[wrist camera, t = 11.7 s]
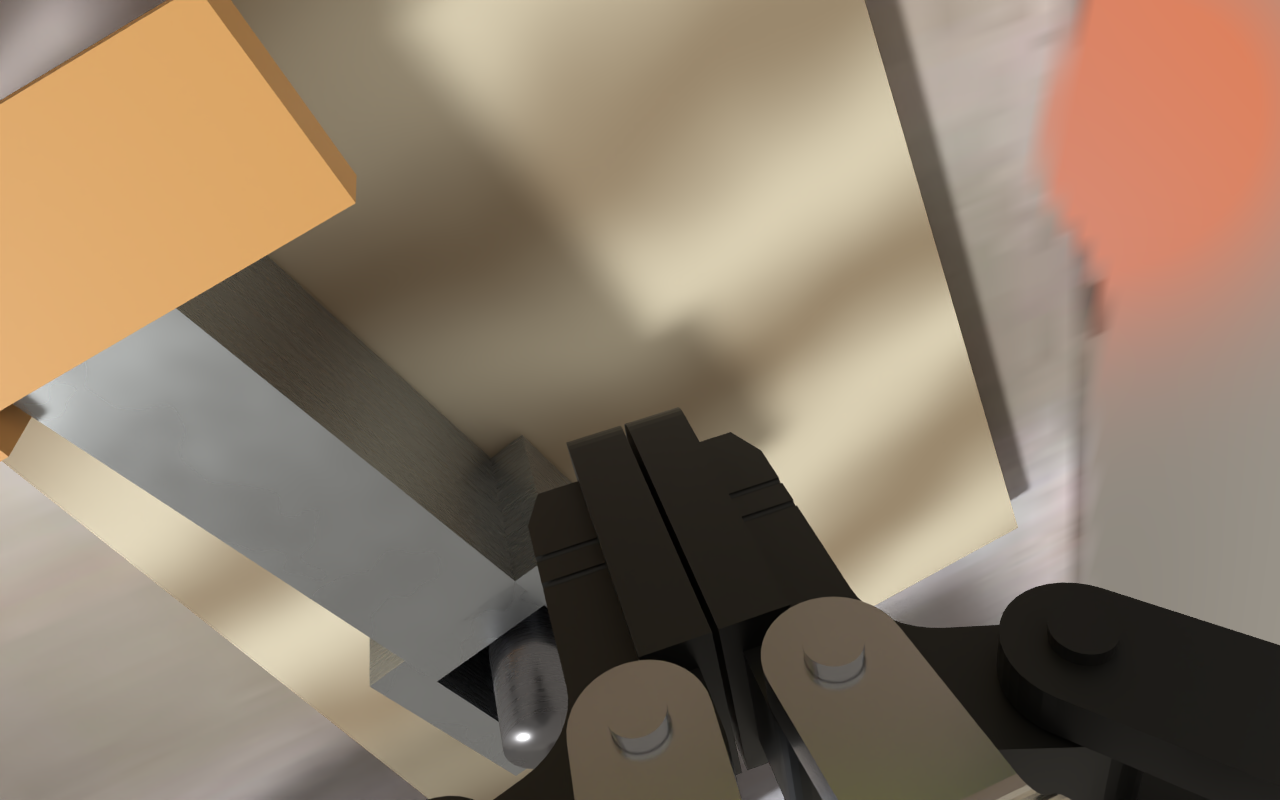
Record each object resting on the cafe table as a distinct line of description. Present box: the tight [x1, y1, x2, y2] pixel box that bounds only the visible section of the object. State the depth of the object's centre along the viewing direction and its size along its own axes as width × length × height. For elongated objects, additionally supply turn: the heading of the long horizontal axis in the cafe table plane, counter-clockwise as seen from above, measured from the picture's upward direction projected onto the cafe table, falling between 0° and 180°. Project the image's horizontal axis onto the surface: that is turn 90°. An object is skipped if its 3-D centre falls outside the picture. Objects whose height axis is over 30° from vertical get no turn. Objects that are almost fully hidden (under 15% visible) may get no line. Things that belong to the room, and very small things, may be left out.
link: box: [13, 255, 572, 776], centre depth 19 cm, size 16×5×4 cm, turn 35°
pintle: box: [488, 605, 568, 769], centre depth 22 cm, size 4×4×8 cm
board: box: [2, 0, 1018, 800], centre depth 23 cm, size 24×21×1 cm
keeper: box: [0, 0, 357, 462], centre depth 15 cm, size 4×10×8 cm, turn 116°
